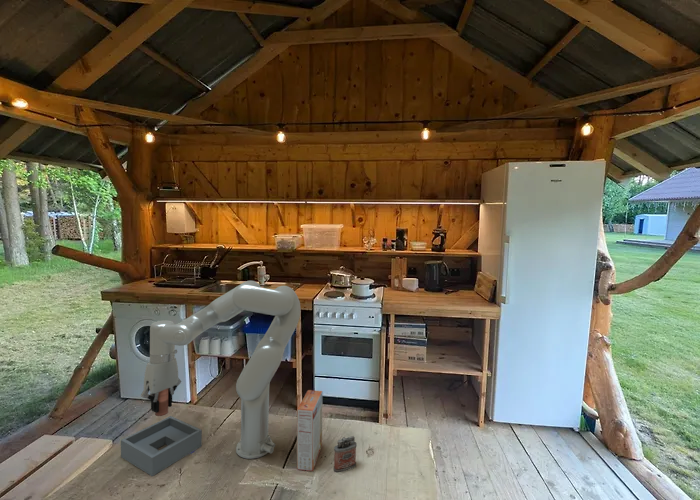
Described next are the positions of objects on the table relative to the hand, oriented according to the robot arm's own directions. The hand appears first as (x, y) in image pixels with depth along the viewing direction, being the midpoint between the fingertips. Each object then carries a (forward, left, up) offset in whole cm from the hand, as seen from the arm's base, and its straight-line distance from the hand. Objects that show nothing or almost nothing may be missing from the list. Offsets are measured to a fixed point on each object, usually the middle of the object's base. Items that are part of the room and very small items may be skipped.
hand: (161, 408), depth 119 cm
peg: (0, 0, -2) cm, 2 cm away
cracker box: (-46, -24, -16) cm, 54 cm away
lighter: (-59, -26, -16) cm, 67 cm away
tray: (0, 0, -16) cm, 16 cm away
